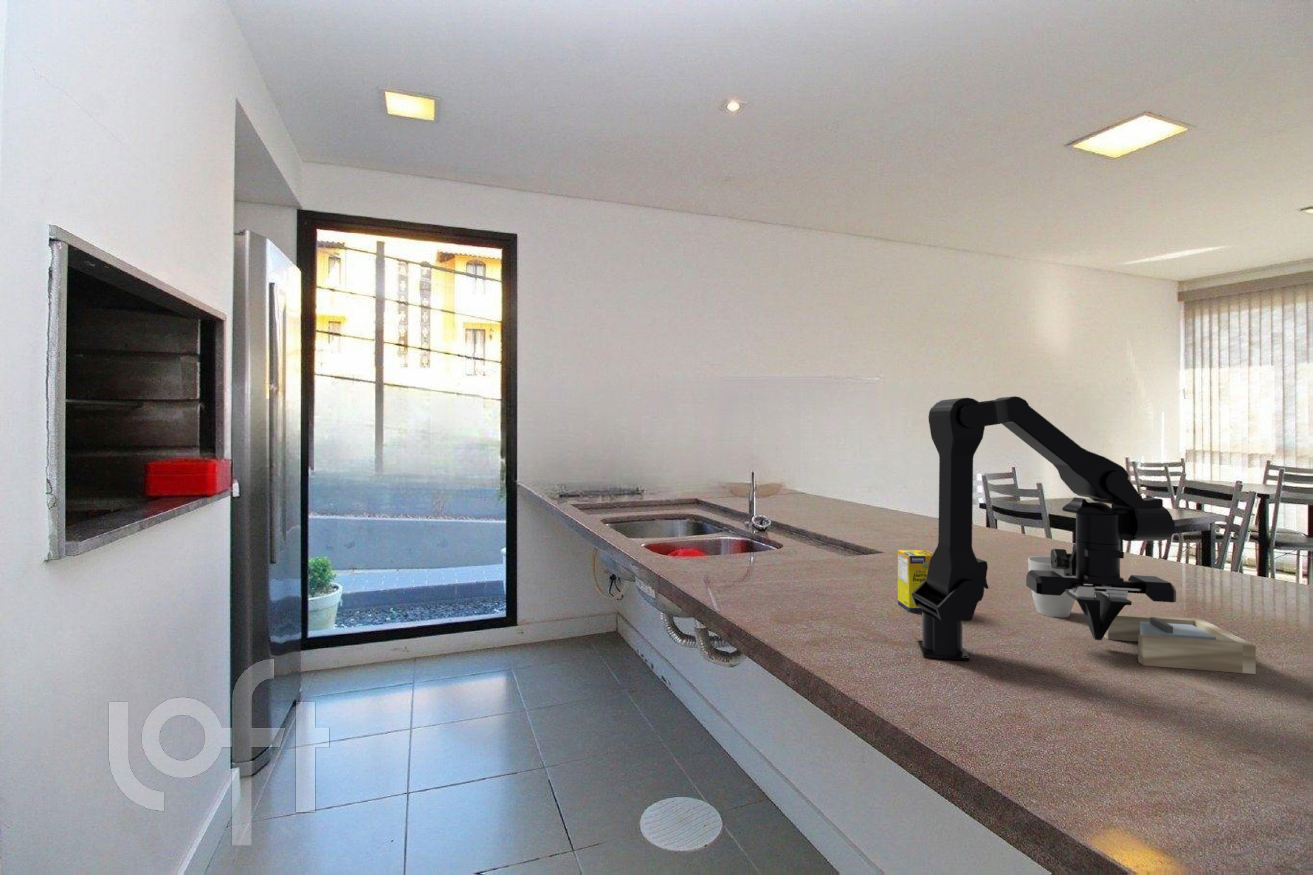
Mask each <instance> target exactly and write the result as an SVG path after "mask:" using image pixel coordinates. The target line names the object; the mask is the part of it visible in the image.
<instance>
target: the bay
mask: <svg viewBox="0 0 1313 875" xmlns="http://www.w3.org/2000/svg"><path fill="white" fill-rule="evenodd" d="M1150 617H1156V618H1158V619H1160V620H1162V621H1164V622H1165V623H1171V624H1187V625H1193V626H1195V627H1197V628H1199V629H1201V630H1203V631H1205V632H1207V633H1209V634H1211V635H1213V636H1214V637H1216V640H1207V639H1192V638H1177V637H1162V636H1148V635H1140V622H1150ZM1103 638H1105V639H1107V640H1111V641H1112V640H1114V641H1127V642H1138V644H1137V645H1138V646H1137V647H1138V648H1137V650H1138V652H1137V653H1138V657H1137V658H1138V660H1137V661H1138V663H1140V665H1143V666H1148V667H1149V666H1150V667H1160V668H1161V667H1162V668H1163V667H1164V668H1174V669H1188V670H1200V671H1212V672H1226V673H1238V674H1252V675H1256V666H1257V665H1256V664H1257V663H1256V658H1257V657H1256V650H1257V649H1256V645H1255V644H1253V643H1251V642H1249V641H1247V640H1245V639H1243V638H1241V637H1239V636H1236V635H1234V634H1232V633H1230V632H1229V631H1227V630H1225V629H1223V628H1221V627H1219V626H1217V625H1214V624H1212V623H1211V622H1209V621H1207V620H1204V619H1203V618H1201V617H1200V618H1198V617H1183V616H1182V617H1181V616H1164V615H1153V614H1151V615H1147V614H1133V613H1131V614H1130V613H1119V614H1118V615H1117V616H1116V617H1115V619H1114V620H1113V622H1112V623H1111V625H1110V627H1109V628H1108V630H1107V632H1106V633H1105V635H1104V637H1103Z"/></svg>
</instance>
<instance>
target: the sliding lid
mask: <svg viewBox="0 0 1313 875" xmlns="http://www.w3.org/2000/svg"><path fill="white" fill-rule="evenodd" d="M1140 635H1148V636H1162V637H1177V638H1192V639H1207V640H1216V637H1214V636H1213V635H1211V634H1209V633H1207V632H1205V631H1203V630H1201V629H1199V628H1197V627H1195V626H1193V625H1187V624H1171V623H1165V622H1164V621H1162V620H1160V619H1158V618H1156V617H1150V622H1140Z"/></svg>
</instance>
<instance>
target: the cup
mask: <svg viewBox="0 0 1313 875" xmlns="http://www.w3.org/2000/svg"><path fill="white" fill-rule="evenodd" d="M1027 562H1028V572H1029V571H1030V570H1042V571H1054V572H1056V573H1057V574H1059V575H1061V576H1062V577H1068V578H1076V576H1065V575H1064V570H1063V569H1053V568H1052V567H1051V556H1042V555H1039V556H1029V557H1028V558H1027ZM1066 590H1069V589H1066ZM1030 591H1031V595H1032V599H1033V602H1034V605H1035V609H1036V612H1037V613H1038V614H1041V615H1043V616H1047V617H1053V618H1068V617H1070V614H1071V612H1072V609H1073V607H1074V605H1075V601H1076V600H1075V599H1073V598H1072V597H1070V596H1069V595H1067V594H1066V591H1065V592H1064V593H1063V594H1061V595H1060V596H1058V595H1042V594H1037V593H1035V592H1034V591H1033V590H1031V589H1030Z"/></svg>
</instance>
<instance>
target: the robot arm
mask: <svg viewBox="0 0 1313 875" xmlns="http://www.w3.org/2000/svg"><path fill="white" fill-rule="evenodd" d="M928 424H929V432H930V436H931V440H932V442H933V444H934V446H935V448H936V451H937V453H938V457H939V458H938V460H939V462H938V463H939V466H938V467H939V468H938V470H939V471H938V475H939V476H938V535H937V536H938V540H937V541H938V543H937V547H936V548H935V550H934V552H933V553H934V554H933V555H932V557H931V559H930V563H929V568H928V574H927V579H926V580H925V581H924V582H923V583H922V584H921V585H920V586H919V587H918V588H917V589H916V590H915V591H914V592H913V593H912V598H913V600H914V603H915V605H916V606H917V607H920V608H922V609H923V611H922V612H921V613H922V614H921V615H922V616H921V617H922V618H921V619H922V630H921V632H922V640H917V641H916V642H917V646H918V648H919V651H920V653H921V656H923V657H924V658H931V659H943V660H944V659H945V660H956V661H970V656H969V654H968V653H967V651H966V650H965V648H964V647H963V646H964V645H963V644H964V643H963V641H964V640H963V636H964V634H963V632H964V631H963V630H964V629H963V622H970V621H972V620H973V618H974V617H973V616H974V615H975V611H976V608H977V605H978V603H979V602H981V601H982V600H983V598H984V594H985V589H986V590H988V589H989V584H988V580H987V573H988V570H989V569H988V568H989V567H988V562H987V561H986V560H984V559H980V558H978V557H977V556H976V554H975V552H974V549H973V508H974V506H973V505H974V501H973V499H974V456H975V454H976V452H977V450H978V448H979V446H980V445H981V443H982V440H983V439H984V438H983V437H984V435H985V434H984V433H985V429H986V428H985V427H987V426H994V425H995V426H997V425H1002V426H1004V427H1005V428H1006V429H1008V430H1009V431H1010V432H1011V433H1012V434H1014V435H1015V436H1016V437H1018V438H1019V439H1021V441H1023V442H1024V443H1025V444H1026V445H1028V446H1029V447H1030V448H1032V449H1033V450H1034V451H1035V452H1036V453H1038V454H1039V455H1040V456H1041V457H1043V458H1044V459H1045V460H1047V461H1048V462H1049V463H1050V464H1052V465H1053V466H1054V467H1055V469H1056V470H1057V473H1058V474H1059V475H1058V476H1059V478H1060V480H1062V482H1063V483H1064V484H1065V485H1066V487H1067V488H1069V489H1070V491H1071V492H1072V493H1073V494H1074V495H1077V496H1079V497H1073V498H1072V499H1071V501H1070V502H1069V503H1067V504H1065V505H1064V506H1063V507H1062V509H1061V510H1062V511H1063V512H1065V513H1072V514H1075V543H1073V544H1072V551H1071V553H1067V550H1066V549H1065V548H1052V549H1050V557H1051V567H1052V568H1053V569H1063V570H1064V575H1065V576H1076V578H1068V577H1062V576H1061V575H1059V574H1057V573H1056V572H1054V571H1042V570H1030V571H1029V570H1028V572H1027V574H1026V577H1025V578H1026V581H1025V582H1026V583H1025V586H1026V587H1027V588H1029V589H1030V591H1031V590H1033V591H1034V592H1035V593H1037V594H1042V595H1058V596H1060V595H1061V594H1063V593H1064V592H1065V591H1066V594H1067V595H1069V596H1070V597H1072V598H1073V599H1075V601H1076V602H1077V603H1078V606H1079V607H1080V609H1081V611H1082V613H1083V615H1084V619H1085V621H1086V624H1087V625H1088V628H1089V631H1090V633H1091V636H1092V638H1093V639H1094V640H1095V641H1102V640H1103V638H1105V637H1104V635H1105V633H1106V632H1107V630H1108V628H1109V627H1110V625H1111V623H1112V622H1113V620H1114V619H1115V617H1116V616H1117V615H1118V614H1120V612H1121V611H1122V610H1123V609H1124V607H1126V606H1132V605H1133V604H1132V601H1131V600H1130V599H1128V595H1129V594H1140V595H1146V597H1147V598H1149V599H1150V600H1151V601H1153V602H1159V603H1176V602H1177V590H1176V588H1175V586H1174V584H1173V583H1171V582H1170V581H1167V580H1165V579H1163V578H1160V577H1158V576H1156V575H1155V576H1153V575H1137V574H1136V575H1134V574H1131V575H1130V576H1129V577H1128V580H1125V579H1124V578H1123V577H1121V559H1125V557H1124V556H1125V553H1124V552H1125V551H1122V550H1121V540H1122V541H1125V542H1151V541H1152V542H1155V541H1157V542H1159V541H1161V542H1162V541H1166V540H1169V539H1170V538H1171V537H1172V535H1173V534H1174V532H1175V527H1176V522H1175V520H1174V519H1173V516H1172V514H1171V512H1170V511H1169V510H1168V509H1167V508H1166V507H1165V506H1163V505H1164V500H1163V499H1162V498H1157V497H1142V496H1141V494H1140V493H1139V491H1138V490H1137V489H1136V487H1135V486H1134V484H1133V483H1132V482H1131V481H1130V479H1129V478H1130V477H1129V476H1130V475H1129V472H1128V471H1127V470H1126V469H1125V468H1124V467H1123V466H1122V465H1120V464H1118V463H1116V462H1115V461H1113V460H1111V459H1109V458H1107V457H1106V456H1103V455H1100V454H1097V453H1094V452H1092V451H1090V450H1088V449H1085V448H1083V447H1082V446H1081V445H1080V444H1078V443H1077V442H1075V441H1074V440H1073V439H1071V437H1069V436H1068V435H1066V433H1064V432H1063V431H1062V430H1060V428H1058V427H1057V426H1056V425H1054V424H1053V423H1052V422H1050V421H1049V419H1047V418H1046V417H1044V416H1043V415H1041V414H1040V413H1039V412H1038V411H1036V410H1035V409H1034V408H1033V407H1032V406H1030V405H1029V403H1028V402H1027V401H1026V399H1024V398H1022V397H1020V396H1006V397H1005V396H1003V397H998V398H997V397H996V399H991V400H984V401H978V400H976V399H974V398H972V397H971V398H970V397H961V398H959V397H958V398H949V399H942V400H939V401H938V402H936V403H935V404H934V405H933V406H932V407H930V410H929V413H928ZM1081 497H1082V498H1081ZM1083 497H1084V498H1083ZM1085 498H1089V499H1090V500H1092V502H1091V501H1090V502H1088V501H1087V500H1086V499H1085ZM1108 504H1109V505H1111V507H1110V506H1109V505H1108ZM1066 589H1069V590H1066Z"/></svg>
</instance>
